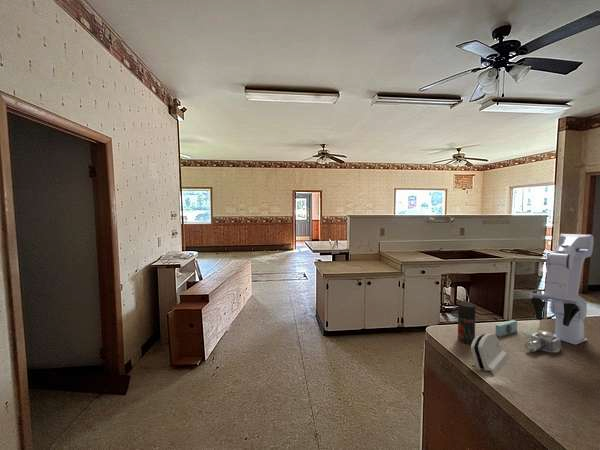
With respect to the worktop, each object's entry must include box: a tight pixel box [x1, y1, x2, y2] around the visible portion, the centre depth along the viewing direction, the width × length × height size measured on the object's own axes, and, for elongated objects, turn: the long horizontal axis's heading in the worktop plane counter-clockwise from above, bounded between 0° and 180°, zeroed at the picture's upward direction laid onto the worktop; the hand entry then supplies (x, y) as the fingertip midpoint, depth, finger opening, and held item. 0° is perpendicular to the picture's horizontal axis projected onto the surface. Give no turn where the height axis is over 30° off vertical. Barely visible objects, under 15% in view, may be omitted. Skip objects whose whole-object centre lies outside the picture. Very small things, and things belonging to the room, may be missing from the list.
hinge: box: [470, 333, 510, 377], centre depth 94 cm, size 17×5×10 cm, turn 129°
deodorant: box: [457, 301, 476, 346], centre depth 109 cm, size 6×6×15 cm
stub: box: [537, 330, 561, 354], centre depth 103 cm, size 8×8×6 cm
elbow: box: [524, 331, 562, 353], centre depth 102 cm, size 14×7×4 cm, turn 113°
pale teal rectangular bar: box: [495, 319, 518, 337], centre depth 116 cm, size 12×2×4 cm, turn 113°
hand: (551, 322), depth 96 cm, fingers open, 7 cm apart
